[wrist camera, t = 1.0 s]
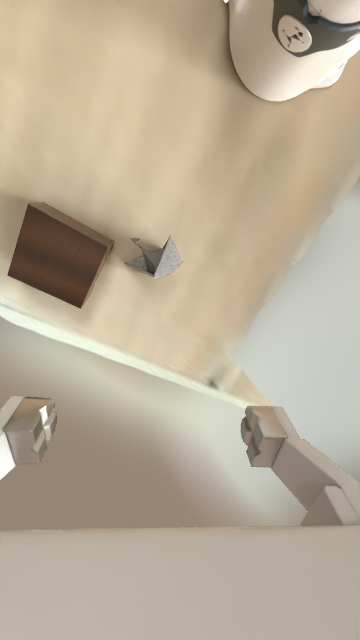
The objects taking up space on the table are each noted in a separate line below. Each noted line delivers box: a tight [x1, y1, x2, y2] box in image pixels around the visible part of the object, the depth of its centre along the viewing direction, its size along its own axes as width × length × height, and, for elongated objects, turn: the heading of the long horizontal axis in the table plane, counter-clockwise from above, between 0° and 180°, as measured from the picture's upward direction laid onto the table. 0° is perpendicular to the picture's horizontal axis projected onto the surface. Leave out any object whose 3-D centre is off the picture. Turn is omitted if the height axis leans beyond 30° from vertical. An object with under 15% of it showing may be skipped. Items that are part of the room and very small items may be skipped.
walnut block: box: [8, 202, 114, 308], centre depth 40 cm, size 12×12×5 cm
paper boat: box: [125, 236, 183, 279], centre depth 41 cm, size 12×6×9 cm
